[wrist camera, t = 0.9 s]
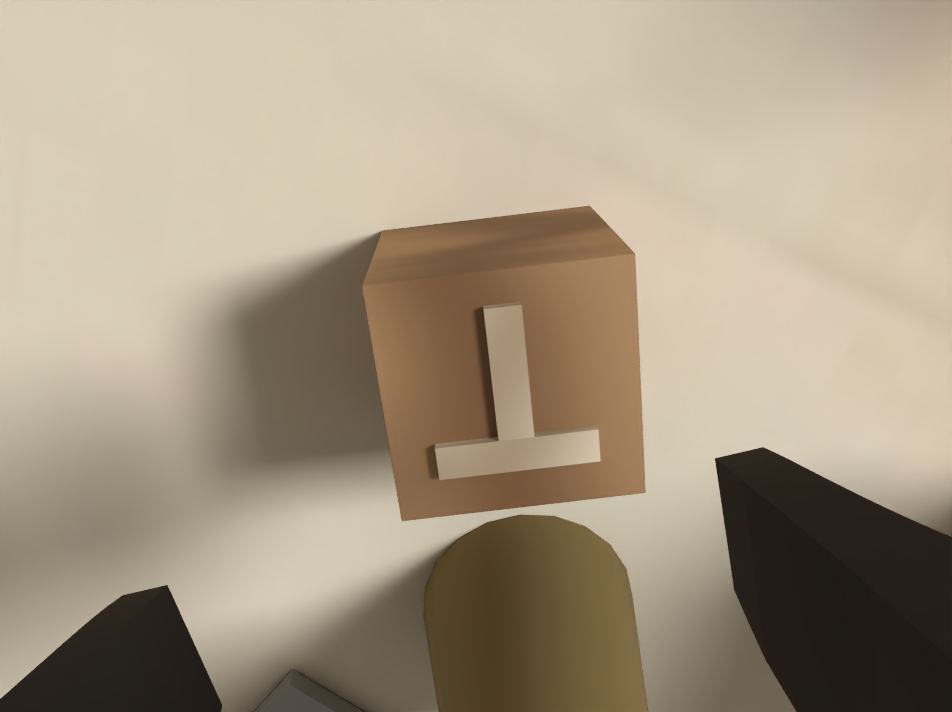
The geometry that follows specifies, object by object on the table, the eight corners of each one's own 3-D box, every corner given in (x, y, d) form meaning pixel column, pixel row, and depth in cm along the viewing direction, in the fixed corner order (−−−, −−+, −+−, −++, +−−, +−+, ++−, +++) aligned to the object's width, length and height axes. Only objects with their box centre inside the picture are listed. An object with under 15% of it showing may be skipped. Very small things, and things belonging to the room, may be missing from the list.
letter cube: (589, 205, 19) (637, 256, 14) (601, 395, 21) (647, 498, 16) (382, 230, 19) (360, 289, 14) (411, 417, 21) (401, 526, 16)
